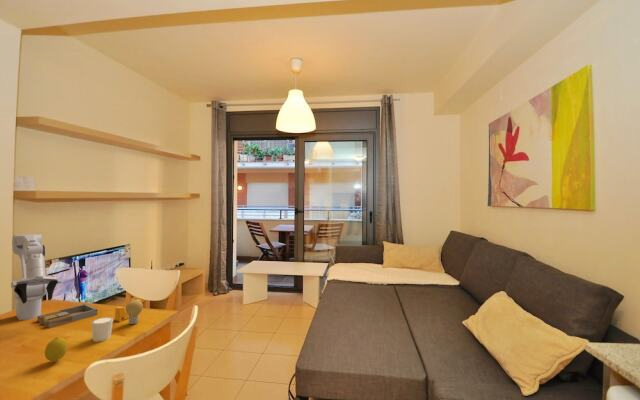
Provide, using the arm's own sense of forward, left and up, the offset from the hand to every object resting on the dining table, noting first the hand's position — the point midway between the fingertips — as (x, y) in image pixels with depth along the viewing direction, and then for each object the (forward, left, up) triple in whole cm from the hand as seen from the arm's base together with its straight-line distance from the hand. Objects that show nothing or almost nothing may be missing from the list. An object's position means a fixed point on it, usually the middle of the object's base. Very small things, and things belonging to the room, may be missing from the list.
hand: (37, 300), depth 115 cm
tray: (-4, +15, -12) cm, 20 cm away
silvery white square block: (-4, +10, -12) cm, 16 cm away
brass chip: (-4, +6, -12) cm, 14 cm away
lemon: (+33, -5, -13) cm, 36 cm away
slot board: (-4, +12, -12) cm, 18 cm away
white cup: (+27, +11, -13) cm, 32 cm away
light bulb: (+23, +25, -13) cm, 37 cm away
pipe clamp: (+14, +27, -13) cm, 33 cm away
